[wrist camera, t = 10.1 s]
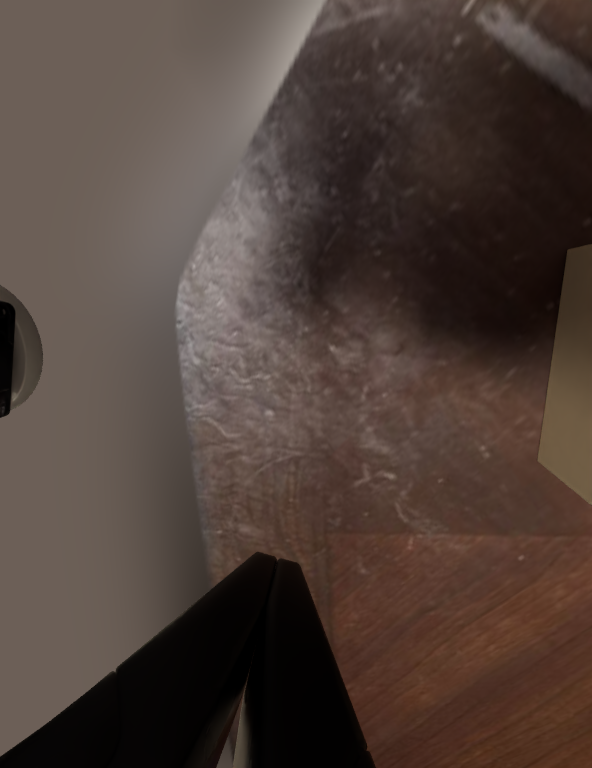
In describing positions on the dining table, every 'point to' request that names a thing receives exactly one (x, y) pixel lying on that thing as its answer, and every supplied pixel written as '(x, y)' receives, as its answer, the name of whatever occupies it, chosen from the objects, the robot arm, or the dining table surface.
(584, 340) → the button housing
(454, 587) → the dining table surface
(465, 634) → the dining table surface
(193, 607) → the robot arm
